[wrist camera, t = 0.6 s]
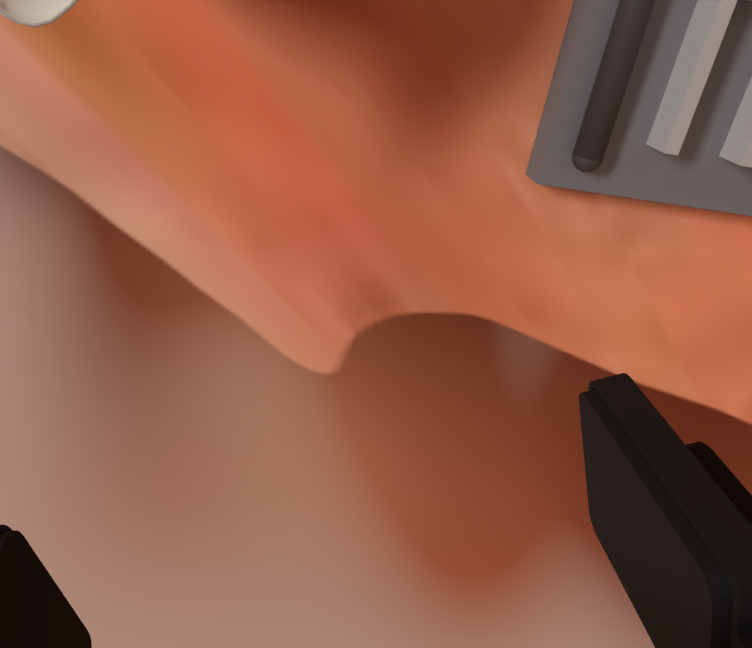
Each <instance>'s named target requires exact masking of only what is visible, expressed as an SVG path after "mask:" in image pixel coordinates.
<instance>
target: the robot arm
mask: <svg viewBox="0 0 752 648" xmlns="http://www.w3.org/2000/svg"><path fill="white" fill-rule="evenodd" d="M579 405H580V416H581V427H582V438H583V449H584V459H585V471H586V482H587V492H588V503H589V513H590V518H591V522H592V525H593V528H594V531H595V533H596V535H597V537H598V539H599V541H600V543H601V545H602V547H603V548H604V550H605V552H606V554H607V556H608V558H609V560H610V562H611V563H612V566H613V568H614V569H615V571H616V573H617V575H618V577H619V579H620V581H621V583H622V585H623V587H624V589H625V591H626V592H627V594H628V596H629V598H630V600H631V602H632V604H633V606H634V608H635V610H636V612H637V614H638V615H639V617H640V619H641V621H642V623H643V625H644V627H645V629H646V631H647V633H648V635H649V636H650V638H651V640H652V642H653V644H654V646H655V648H752V496H751V494H750V493H749V492H748V491H747V490H746V488H745V487H744V486H743V485H742V484H741V483H740V481H739V480H738V479H737V478H736V477H735V476H734V474H733V473H732V472H731V471H730V470H729V469H728V467H727V466H726V465H725V464H724V463H723V462H722V461H721V459H720V458H719V457H718V456H717V455H716V454H715V452H714V451H713V450H712V449H710V448H709V446H707V445H706V444H704V443H702V442H696V443H691V444H687V445H685V444H684V443H683V441H682V440H681V439H680V438H679V437H678V435H677V434H676V433H675V432H674V430H673V429H672V428H671V427H670V425H669V424H668V423H667V422H666V420H665V419H664V418H663V417H662V416H661V414H660V413H659V412H658V411H657V409H656V408H655V407H654V406H653V405H652V403H651V402H650V401H649V400H648V398H647V397H646V396H645V395H644V393H643V392H642V391H641V390H640V389H639V387H638V386H637V385H636V384H635V382H634V381H633V380H632V379H631V377H630V376H628V375H627V374H625V373H622V374H618V375H614V376H610V377H606V378H602V379H598V380H594V381H591V382H590V383H589V391H587V392H583V393H580V395H579ZM91 647H92V646H91V638H90V635H89V632H88V631H87V629H86V628H85V626H84V625H83V623H82V622H81V620H80V619H79V617H78V616H77V614H76V613H75V611H74V610H73V608H72V607H71V605H70V604H69V602H68V601H67V599H66V598H65V597H64V595H63V594H62V592H61V591H60V589H59V588H58V586H57V585H56V583H55V582H54V580H53V579H52V577H51V576H50V574H49V573H48V571H47V570H46V568H45V567H44V566H43V564H42V562H41V561H40V560H39V558H38V557H37V555H36V554H35V552H34V551H33V549H32V548H31V546H30V545H29V543H28V542H27V540H26V539H25V537H24V536H23V535H22V534H21V533H20V532H19V531H12V530H11V528H9V527H8V526H6V525H0V648H91Z"/></svg>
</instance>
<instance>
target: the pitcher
mask: <svg viewBox="0 0 752 648" xmlns="http://www.w3.org/2000/svg"><path fill="white" fill-rule="evenodd" d="M78 1H79V0H0V14H1V15H3V16H5V17H6V18H8V19H10V20H12V21H13V22H15V23H18V24H22V25H26V26H31V27H38V26H42V25H46V24H50V23H53V22H55V21H56V20H57V19H58V18H60V17H61V16H62V15H63V14H65V13H66V12H67V11H69V10H70V9H71V8H72V7H73V6H74V5H75V4H76V3H77V2H78Z"/></svg>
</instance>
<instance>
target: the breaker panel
mask: <svg viewBox="0 0 752 648" xmlns="http://www.w3.org/2000/svg"><path fill="white" fill-rule="evenodd" d="M526 175H528V176H529V177H530V178H531V179H532V180H533V181H534V182H535V183H536V184H540V185H547V186H554V187H560V188H567V189H574V190H581V191H587V192H594V193H601V194H607V195H614V196H621V197H627V198H634V199H641V200H647V201H654V202H661V203H667V204H674V205H681V206H687V207H694V208H701V209H707V210H714V211H721V212H727V213H734V214H741V215H747V216H752V1H749V0H574V4H573V7H572V11H571V14H570V18H569V22H568V25H567V29H566V32H565V36H564V39H563V43H562V47H561V50H560V54H559V57H558V61H557V64H556V68H555V71H554V75H553V79H552V82H551V86H550V89H549V93H548V96H547V100H546V104H545V107H544V111H543V114H542V118H541V121H540V125H539V129H538V132H537V136H536V139H535V143H534V146H533V150H532V154H531V157H530V161H529V164H528V168H527V171H526Z"/></svg>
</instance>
